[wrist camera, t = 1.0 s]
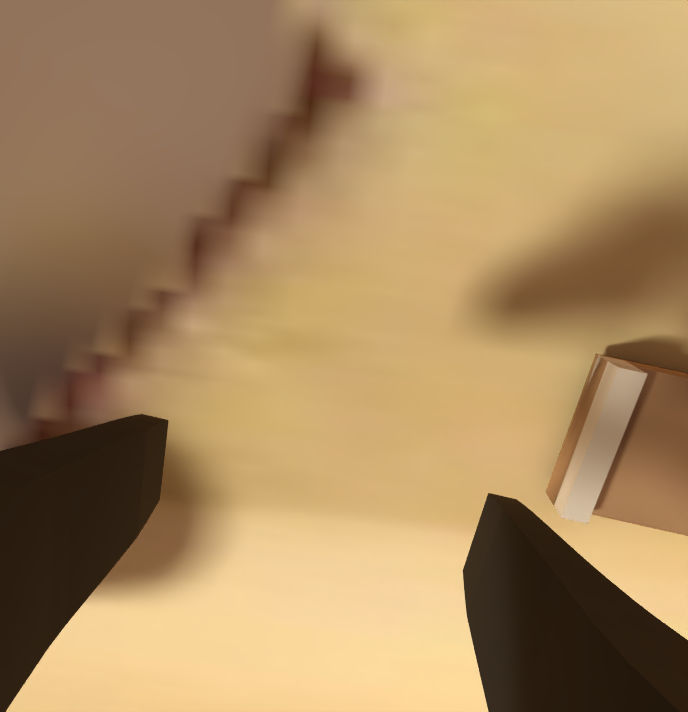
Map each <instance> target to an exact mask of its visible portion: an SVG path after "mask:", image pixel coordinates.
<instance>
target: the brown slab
mask: <svg viewBox="0 0 688 712" xmlns="http://www.w3.org/2000/svg"><path fill="white" fill-rule="evenodd" d="M546 493H547V495H548V497H549V498H550V500H551V502H552V503H553V505H554V507H555V508H556V510H557V512H558V513H559V515H560V517H561V518H564V519H568V520H573V521H577V522H582V523H586V524H588V522H589V519H590V517H591V514H593V515H597V516H601V517H606V518H610V519H615V520H619V521H624V522H628V523H633V524H637V525H641V526H646V527H650V528H655V529H659V530H664V531H668V532H673V533H677V534H682V535H686V536H688V374H687V373H683V372H678V371H673V370H669V369H664V368H659V367H655V366H650V365H646V364H641V363H636V362H632V361H627V360H622V359H618V358H613V357H609V356H604V355H599V354H596V355H595V358H594V361H593V363H592V366H591V369H590V372H589V374H588V377H587V380H586V383H585V385H584V388H583V391H582V394H581V396H580V399H579V402H578V405H577V407H576V410H575V413H574V416H573V418H572V421H571V424H570V427H569V429H568V432H567V435H566V438H565V440H564V443H563V446H562V449H561V451H560V454H559V457H558V460H557V462H556V465H555V468H554V471H553V473H552V476H551V479H550V482H549V484H548V487H547V490H546Z"/></svg>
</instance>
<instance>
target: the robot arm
mask: <svg viewBox="0 0 688 712" xmlns="http://www.w3.org/2000/svg"><path fill="white" fill-rule="evenodd" d="M167 429H168V420H165V419H161V418H157V417H152V416H148V415H143V414H140V415H134V416H129V417H125V418H121V419H117V420H114V421H110V422H107V423H103V424H100V425H96V426H93V427H89V428H86V429H82V430H79V431H75V432H72V433H68V434H65V435H61V436H58V437H54V438H50V439H46V440H42V441H38V442H34V443H30V444H26V445H23V446H19V447H15V448H11V449H7V450H3V451H0V712H6V710H7V709H8V707H9V706H10V704H11V702H12V701H13V699H14V698H15V696H16V695H17V693H18V692H19V691H20V689H21V688H22V686H23V685H24V683H25V682H26V680H27V679H28V677H29V676H30V674H31V673H32V671H33V670H34V668H35V667H36V665H37V664H38V662H39V661H40V659H41V658H42V656H43V655H44V653H45V652H46V650H47V649H48V648H49V646H50V645H51V644H52V642H53V641H54V640H55V638H56V637H57V636H58V634H59V633H60V632H61V630H62V629H63V628H64V626H65V625H66V624H67V623H68V622H69V620H70V619H71V618H72V617H73V615H74V614H75V613H76V612H77V611H78V609H79V608H80V607H81V606H82V604H83V603H84V602H85V601H86V600H87V598H88V597H89V596H90V595H91V593H92V592H93V591H94V590H95V589H96V587H97V586H98V585H99V584H100V582H101V581H102V580H103V579H104V578H105V576H106V575H107V574H108V573H109V571H110V570H111V569H112V568H113V567H114V565H115V564H116V563H117V562H118V560H119V559H120V558H121V557H122V555H123V554H124V553H125V552H126V550H127V549H128V548H129V547H130V545H131V544H132V543H133V542H134V540H135V539H136V538H137V536H138V535H139V533H140V531H141V530H142V528H143V527H144V525H145V524H146V522H147V520H148V519H149V517H150V515H151V514H152V512H153V510H154V508H155V507H156V505H157V503H158V502H159V500H160V491H161V483H162V474H163V465H164V456H165V447H166V438H167ZM463 578H464V591H465V601H466V611H467V618H468V623H469V627H470V632H471V636H472V641H473V645H474V650H475V654H476V659H477V663H478V667H479V672H480V676H481V680H482V685H483V689H484V693H485V698H486V702H487V706H488V711H489V712H688V640H687V639H685V638H684V637H682V636H681V635H680V634H678V633H677V632H676V631H674V630H673V629H671V628H670V627H669V626H667V625H666V624H665V623H663V622H662V621H660V620H659V619H658V618H656V617H655V616H653V615H652V614H651V613H650V612H648V611H647V610H646V609H644V608H643V607H642V606H640V605H639V604H638V603H637V602H635V601H634V600H633V599H632V598H630V597H629V596H628V595H627V594H626V593H624V592H623V591H622V590H621V589H619V588H618V587H617V586H616V585H615V584H613V583H612V582H611V581H610V580H608V579H607V578H606V577H605V576H604V575H603V574H601V573H600V572H599V571H598V570H597V569H596V568H594V567H593V566H592V565H591V564H590V563H589V562H587V561H586V560H585V559H584V558H583V557H582V556H581V555H580V554H578V553H577V552H576V551H575V550H574V549H573V548H572V547H571V546H570V545H568V544H567V543H566V542H565V541H564V540H563V539H562V538H561V537H560V536H559V535H557V534H556V533H555V532H554V531H553V530H552V529H551V528H550V527H549V526H548V525H546V524H545V523H544V522H543V521H542V520H541V519H540V518H539V517H538V516H536V515H535V514H534V513H533V512H532V511H531V510H529V509H528V508H527V507H526V506H525V505H523V504H522V503H521V502H519V501H518V500H516V499H512V498H508V497H504V496H499V495H495V494H490V493H488V496H487V499H486V502H485V505H484V508H483V511H482V514H481V517H480V520H479V523H478V526H477V529H476V532H475V535H474V538H473V541H472V544H471V547H470V550H469V553H468V556H467V560H466V563H465V566H464V569H463Z"/></svg>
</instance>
